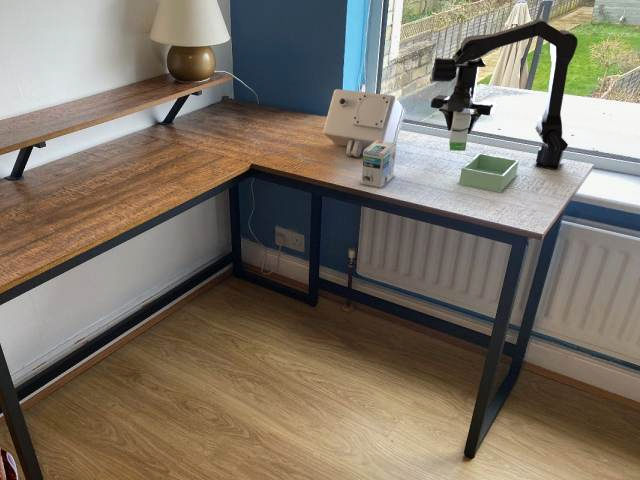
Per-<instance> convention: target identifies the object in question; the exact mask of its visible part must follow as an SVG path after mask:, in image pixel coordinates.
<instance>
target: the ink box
mask: <svg viewBox="0 0 640 480" xmlns="http://www.w3.org/2000/svg"><path fill="white" fill-rule="evenodd" d="M471 114H472V113H471V109H465V108H464V110H463V112H460V113H458V112H455V111H454V112H453V119H452V126H451V130H450V133H449V140H448V144H449V151H453V152H454V151H456V152H457V151H458V152H459V151H460V152H465V151H466V149H467V148H466V147H467V142H468V136H469V134H468V128H469V124H470V120H471Z"/></svg>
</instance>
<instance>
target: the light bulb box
mask: <svg viewBox="0 0 640 480" xmlns="http://www.w3.org/2000/svg"><path fill="white" fill-rule="evenodd" d="M362 150H363V151H362V152H363V153H362V166H361V169H362V170H361V185H367V186H371V187H376V188H380V189H381V188H383V187H384V186H385V185H386V184H387V183H388V182H389V181H391V180H392V179H393V178H394V176H395V175H394V174H395V163H396V153H397V152H396V151H397V143H396V144H395V143H389V142H383V141H378V140H377V141H375V142H374V143H373V144H371V145H370V146H369V147H367V148H366V149H365V150H364V149H362Z"/></svg>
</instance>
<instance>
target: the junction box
mask: <svg viewBox="0 0 640 480" xmlns="http://www.w3.org/2000/svg"><path fill="white" fill-rule="evenodd" d="M405 114H406V109H405V107H404V106H403V105H402V104H401V103H400V101H399V100H398V98H397V97H396V95H391V94H385V93H384V94H383V93H375V92H374V93H373V92H364V91H357V90H347V89H340V88H336V89H334V91H333V93H332V97H331V101H330V105H329V108H328V111H327V115H326V119H325V123H324V127H323V130H322V133H323V135H324V136H326V137H327V138H328V139H329V140H330V141H332V143H333V144H334V145H335V146H339V147H340V146H341V147H346V155H347V156H348V157H354V158H359V157H360V156H361V155H362V150H365V149H366V148H367V147H369V146H370V145H371V144H373V143H374V142H375V141H377V140H378V141H383V142H389V143H395V144H396V145H397V143H398V140H399V139H398V138H399V135H400V131H401V128H402V125H403V121H404V117H405Z"/></svg>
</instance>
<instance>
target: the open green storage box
mask: <svg viewBox="0 0 640 480" xmlns="http://www.w3.org/2000/svg"><path fill="white" fill-rule="evenodd" d="M519 163H520V160H519V159H514V158H508V157H502V156H498V155H491V154H485V153H480V152H479V153H477V155H475V156H474V157H473V158H472V159H470V160H469V161H468V162H467V163H466V164H465V165H463V167H461V169H460V176H459V182H458V184H459V185H463V186H468V187H472V188H477V189H480V190H481V189H482V190H487V191H491V192H496V193H501V192H502V191H503V190H504V189H505V188H506V187H507V186H508V185H509V184H510V183H511V181H513V180H514V178H516V176H517V172H518V168H519Z"/></svg>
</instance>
